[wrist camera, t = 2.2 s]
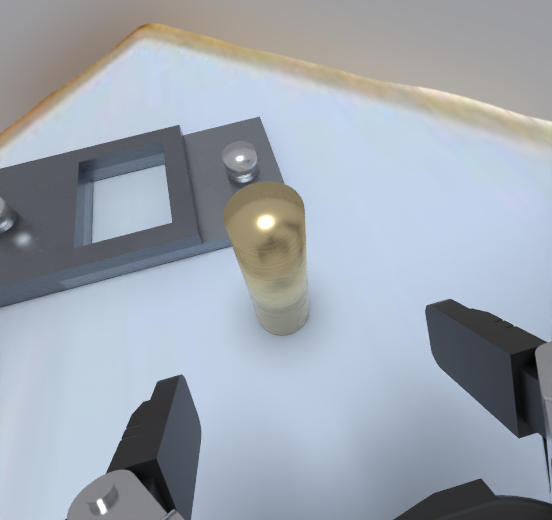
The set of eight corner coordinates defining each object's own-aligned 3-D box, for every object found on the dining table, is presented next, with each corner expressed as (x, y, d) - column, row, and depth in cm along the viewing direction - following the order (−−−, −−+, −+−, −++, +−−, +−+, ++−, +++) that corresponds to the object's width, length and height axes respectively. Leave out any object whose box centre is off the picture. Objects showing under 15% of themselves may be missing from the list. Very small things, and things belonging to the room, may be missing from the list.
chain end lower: (261, 127, 36) (256, 97, 33) (298, 228, 29) (296, 202, 26) (75, 173, 35) (54, 147, 32) (68, 289, 28) (41, 268, 25)
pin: (300, 282, 26) (291, 173, 17) (315, 327, 24) (315, 232, 15) (252, 295, 26) (217, 192, 17) (263, 341, 24) (231, 255, 15)
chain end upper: (187, 145, 35) (171, 105, 31) (206, 252, 28) (190, 218, 25) (-3, 192, 34) (-42, 157, 30) (-30, 315, 27) (-85, 289, 24)
